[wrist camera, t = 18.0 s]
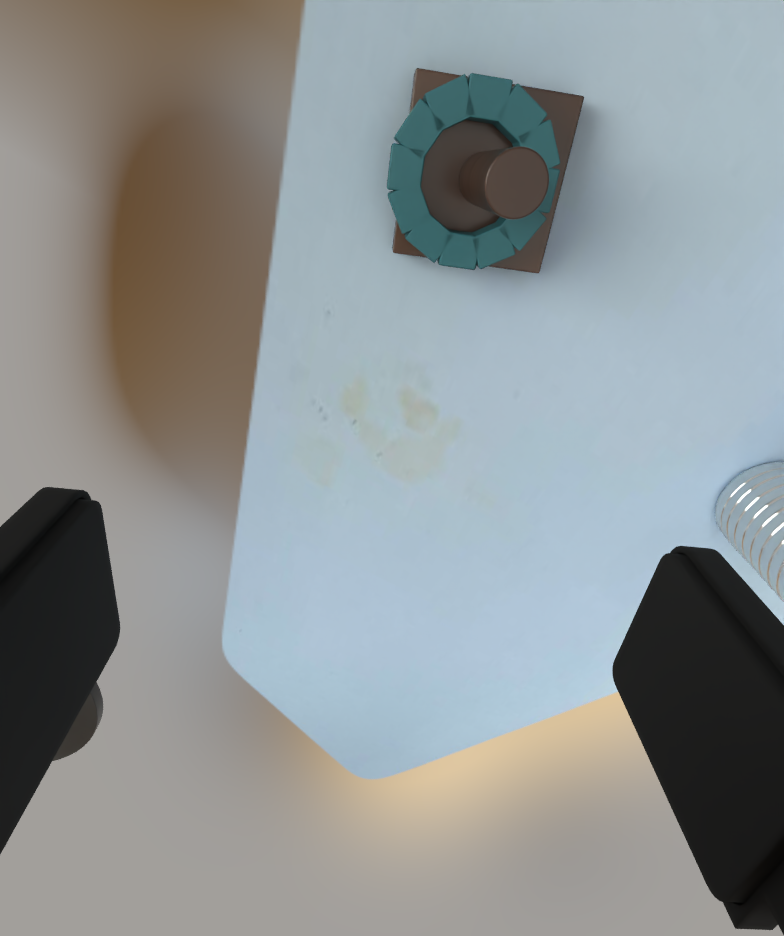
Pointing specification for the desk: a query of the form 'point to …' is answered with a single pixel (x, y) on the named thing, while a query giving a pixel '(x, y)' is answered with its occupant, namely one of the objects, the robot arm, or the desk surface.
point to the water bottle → (756, 520)
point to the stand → (491, 173)
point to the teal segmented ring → (417, 136)
